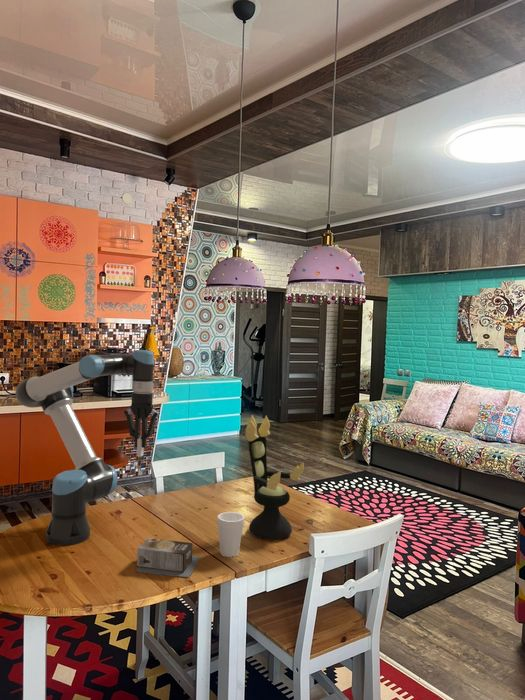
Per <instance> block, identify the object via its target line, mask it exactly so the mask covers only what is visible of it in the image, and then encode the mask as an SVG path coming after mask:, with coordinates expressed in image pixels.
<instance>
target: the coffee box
mask: <svg viewBox="0 0 525 700" xmlns="http://www.w3.org/2000/svg"><path fill="white" fill-rule="evenodd" d="M193 545H194V544H193V543H192V542H186V541H185V542H184V541H178V540H177V541H176V540H170V539H161V538H155V537H152V538H151V537H147V539H145V541H143V542H142V543H141V544H140V545H139V546H138V547H137V551H136V554H137V555H136V557H137V558H136V566H137V567H140V566H141V567H148V568H156V569H163V570H171V571H178V572H184V571H185V570H186V568H187V567H188V566H189V564H190V563H191V562H192V556H193Z"/></svg>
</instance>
